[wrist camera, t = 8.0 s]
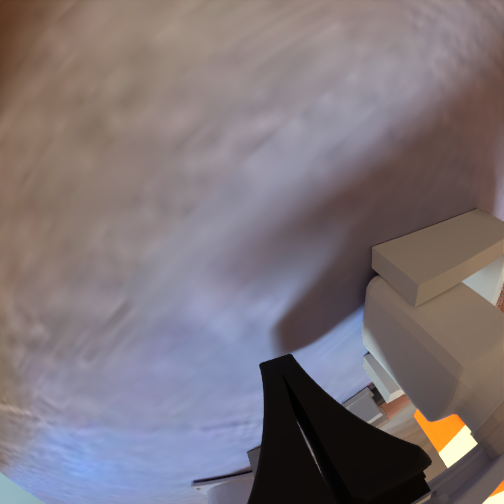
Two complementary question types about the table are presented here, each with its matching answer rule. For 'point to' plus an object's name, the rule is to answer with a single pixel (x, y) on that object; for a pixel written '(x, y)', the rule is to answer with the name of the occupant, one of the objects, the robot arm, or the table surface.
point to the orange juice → (454, 444)
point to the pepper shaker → (442, 355)
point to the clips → (363, 411)
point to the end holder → (439, 269)
